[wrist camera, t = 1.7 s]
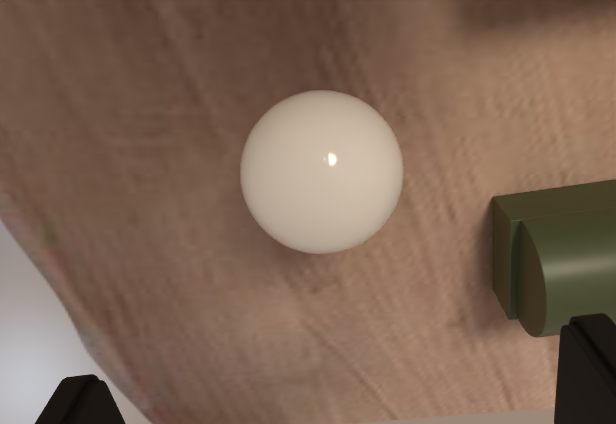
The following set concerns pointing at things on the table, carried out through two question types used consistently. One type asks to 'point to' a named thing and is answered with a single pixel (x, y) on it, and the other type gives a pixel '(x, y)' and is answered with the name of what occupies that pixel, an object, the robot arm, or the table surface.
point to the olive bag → (555, 255)
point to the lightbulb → (321, 172)
